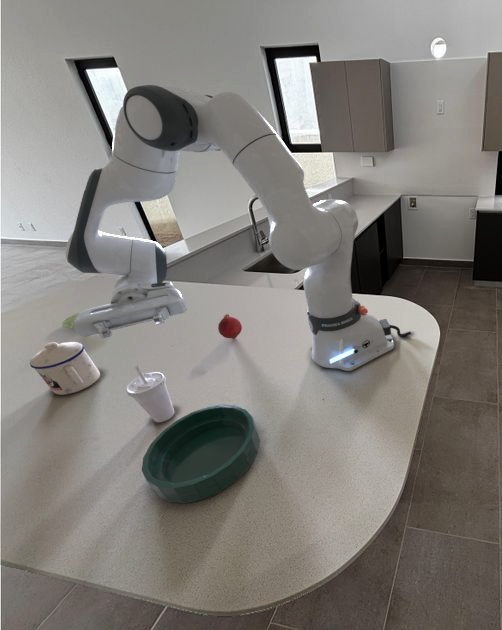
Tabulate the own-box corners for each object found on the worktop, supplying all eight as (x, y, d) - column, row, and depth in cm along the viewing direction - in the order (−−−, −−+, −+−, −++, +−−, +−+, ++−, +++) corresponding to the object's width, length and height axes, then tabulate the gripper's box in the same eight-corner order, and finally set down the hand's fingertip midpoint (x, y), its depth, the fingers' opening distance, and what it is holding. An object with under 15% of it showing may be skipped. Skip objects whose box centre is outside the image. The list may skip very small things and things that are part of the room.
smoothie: (155, 432, 68) (123, 381, 61) (140, 419, 71) (108, 369, 64) (187, 411, 73) (161, 362, 65) (172, 400, 76) (146, 351, 68)
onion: (236, 345, 94) (227, 321, 89) (218, 342, 95) (208, 319, 90) (249, 333, 98) (241, 310, 94) (231, 331, 99) (223, 308, 95)
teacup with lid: (47, 386, 80) (16, 347, 74) (94, 365, 86) (69, 328, 80) (62, 407, 74) (30, 367, 68) (112, 383, 80) (86, 345, 74)
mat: (91, 333, 99) (88, 327, 98) (54, 332, 99) (50, 327, 98) (121, 313, 109) (118, 308, 108) (87, 313, 109) (84, 308, 108)
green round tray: (253, 409, 73) (247, 393, 71) (267, 472, 60) (260, 455, 58) (157, 444, 66) (146, 427, 63) (150, 525, 53) (136, 508, 50)
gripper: (72, 302, 75) (60, 330, 65) (178, 280, 85) (181, 302, 75) (87, 325, 78) (77, 355, 69) (187, 302, 88) (191, 325, 79)
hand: (132, 327), depth 72 cm, fingers open, 8 cm apart
